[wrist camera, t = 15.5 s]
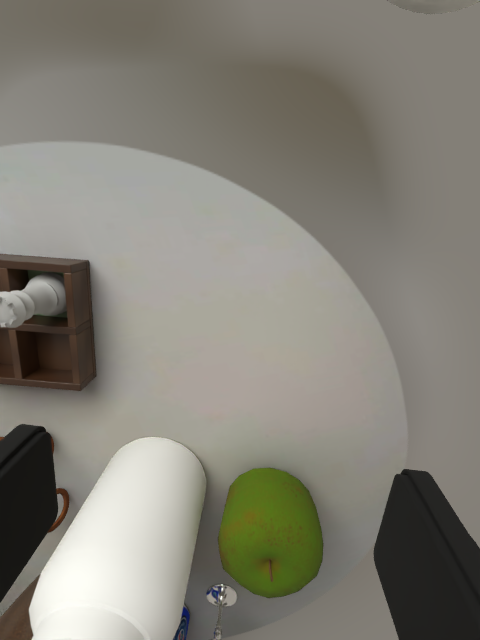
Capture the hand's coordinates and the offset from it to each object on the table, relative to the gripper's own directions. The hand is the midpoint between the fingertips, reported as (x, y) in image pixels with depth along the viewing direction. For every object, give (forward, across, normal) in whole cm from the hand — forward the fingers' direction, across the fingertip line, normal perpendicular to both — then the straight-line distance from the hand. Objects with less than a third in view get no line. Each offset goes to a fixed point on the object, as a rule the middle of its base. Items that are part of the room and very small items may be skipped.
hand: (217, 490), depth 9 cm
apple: (+27, -5, +26) cm, 38 cm away
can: (+27, +9, +26) cm, 38 cm away
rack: (+27, +24, +6) cm, 36 cm away
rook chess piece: (+27, +20, +3) cm, 34 cm away
